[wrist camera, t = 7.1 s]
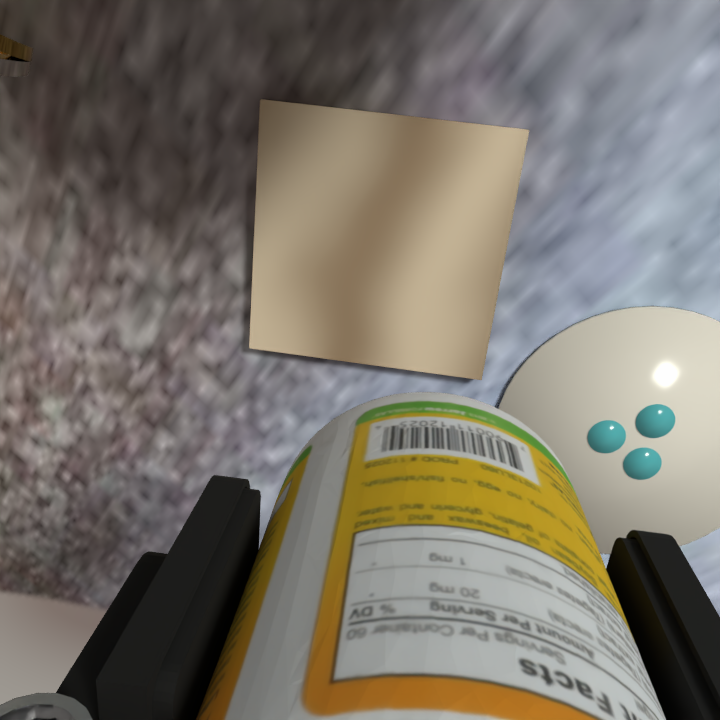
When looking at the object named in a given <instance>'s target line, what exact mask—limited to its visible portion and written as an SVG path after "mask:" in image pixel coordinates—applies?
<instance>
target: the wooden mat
mask: <svg viewBox="0 0 720 720" xmlns="http://www.w3.org/2000/svg"><path fill="white" fill-rule="evenodd" d="M528 134H529V130H527V129H518V128H509V127H500V126H492V125H483V124H474V123H465V122H457V121H448V120H439V119H430V118H422V117H413V116H404V115H395V114H387V113H378V112H369V111H360V110H352V109H343V108H334V107H325V106H317V105H308V104H299V103H290V102H282V101H273V100H264V99H260V113H259V136H258V159H257V181H256V204H255V227H254V250H253V272H252V295H251V318H250V341H249V348H251V349H258V350H266V351H273V352H280V353H287V354H295V355H302V356H309V357H317V358H324V359H331V360H339V361H346V362H353V363H361V364H368V365H375V366H382V367H390V368H397V369H404V370H412V371H419V372H426V373H434V374H441V375H448V376H456V377H463V378H470V379H477V380H482V375H483V369H484V364H485V359H486V354H487V348H488V343H489V338H490V333H491V327H492V322H493V317H494V312H495V306H496V301H497V296H498V291H499V286H500V280H501V275H502V270H503V265H504V259H505V254H506V249H507V244H508V238H509V233H510V228H511V223H512V217H513V212H514V207H515V202H516V196H517V191H518V186H519V181H520V176H521V170H522V165H523V160H524V155H525V149H526V144H527V139H528Z"/></svg>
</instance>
